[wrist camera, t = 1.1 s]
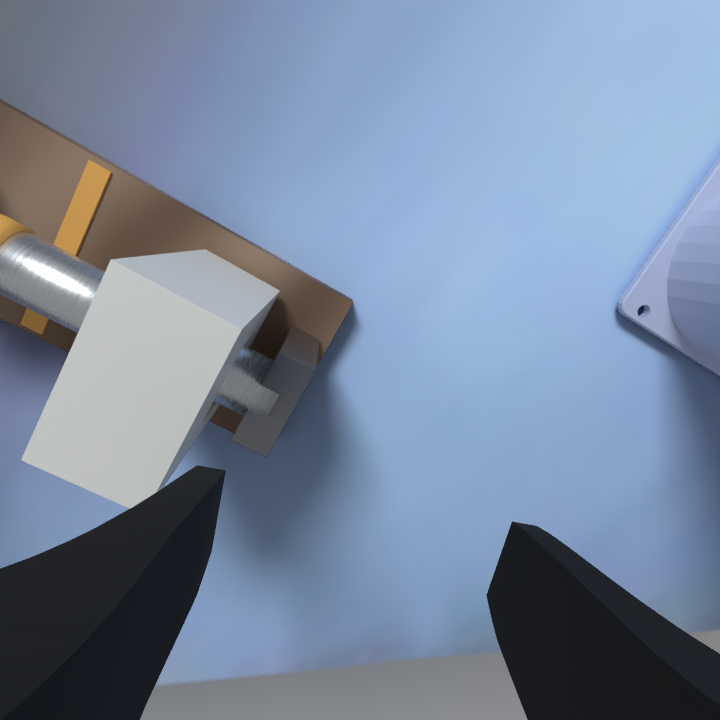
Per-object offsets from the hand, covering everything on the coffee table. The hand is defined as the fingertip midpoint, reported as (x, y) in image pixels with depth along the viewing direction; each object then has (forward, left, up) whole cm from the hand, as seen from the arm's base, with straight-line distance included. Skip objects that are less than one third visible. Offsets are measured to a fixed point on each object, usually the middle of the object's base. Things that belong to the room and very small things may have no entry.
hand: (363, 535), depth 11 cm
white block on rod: (+6, 0, -8) cm, 10 cm away
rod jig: (+9, 0, -10) cm, 14 cm away
